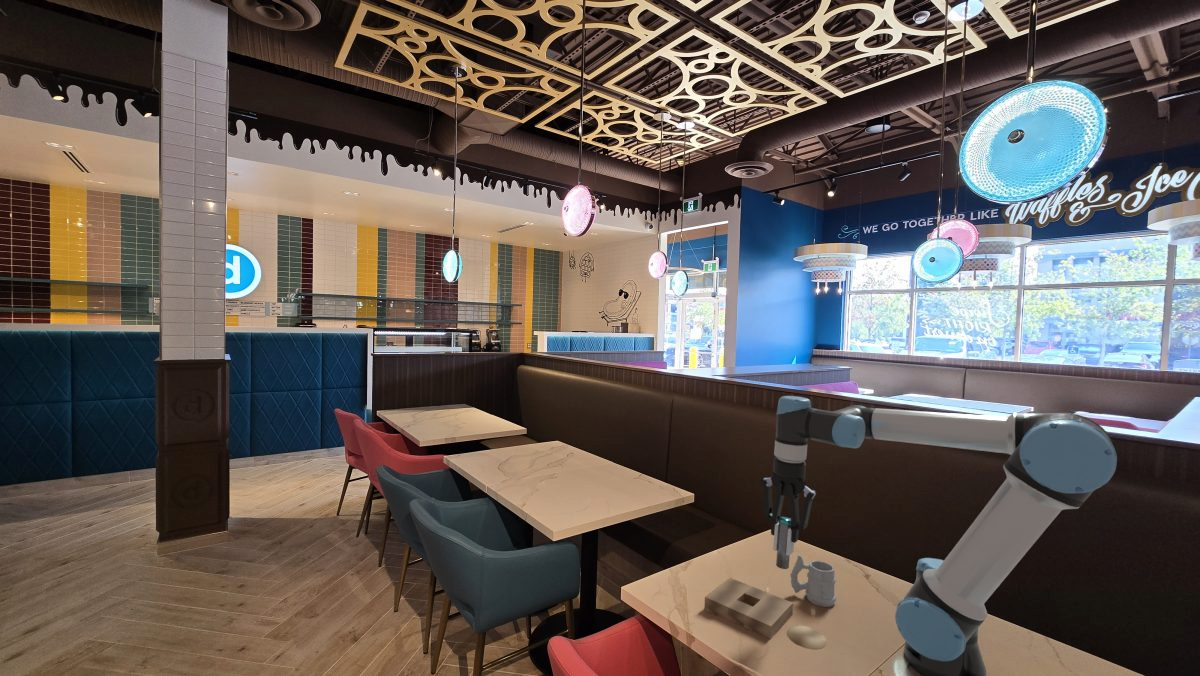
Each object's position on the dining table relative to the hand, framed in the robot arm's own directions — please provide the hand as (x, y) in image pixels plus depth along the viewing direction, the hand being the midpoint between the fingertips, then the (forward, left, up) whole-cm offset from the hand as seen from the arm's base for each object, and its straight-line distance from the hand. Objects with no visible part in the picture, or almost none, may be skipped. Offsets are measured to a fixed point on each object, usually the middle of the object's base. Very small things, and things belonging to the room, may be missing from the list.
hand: (783, 550), depth 123 cm
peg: (0, 0, -4) cm, 4 cm away
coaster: (-6, 0, -19) cm, 20 cm away
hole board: (+9, 0, -19) cm, 21 cm away
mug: (-1, -19, -20) cm, 27 cm away
